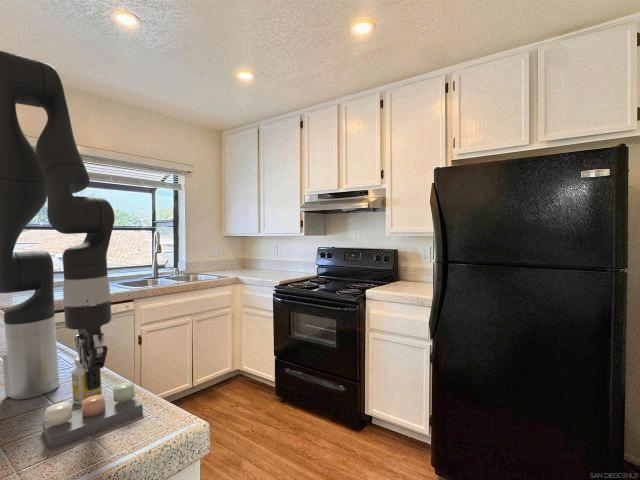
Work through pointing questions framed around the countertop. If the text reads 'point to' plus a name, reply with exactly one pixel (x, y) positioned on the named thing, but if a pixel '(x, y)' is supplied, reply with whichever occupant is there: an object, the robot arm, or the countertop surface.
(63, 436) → the button panel
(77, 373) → the supplement bottle
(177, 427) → the countertop surface
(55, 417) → the cream button
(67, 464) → the countertop surface
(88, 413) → the terracotta button
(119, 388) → the sage button
